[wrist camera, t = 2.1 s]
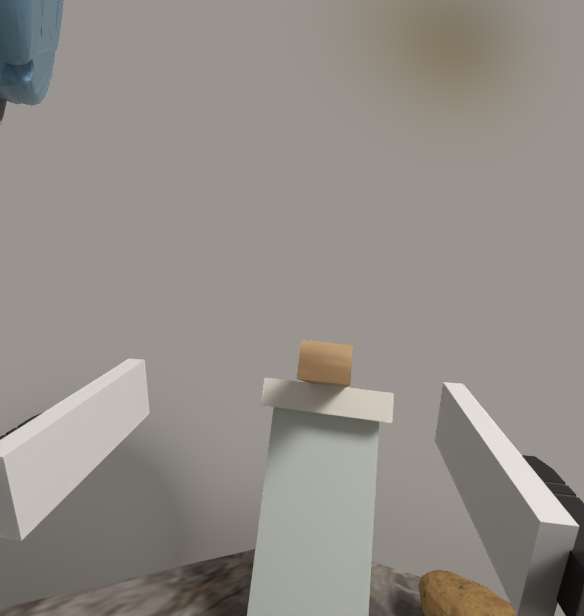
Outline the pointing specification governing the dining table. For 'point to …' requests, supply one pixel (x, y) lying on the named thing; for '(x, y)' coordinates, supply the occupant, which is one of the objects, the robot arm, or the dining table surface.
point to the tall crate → (317, 500)
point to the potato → (459, 597)
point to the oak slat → (325, 363)
